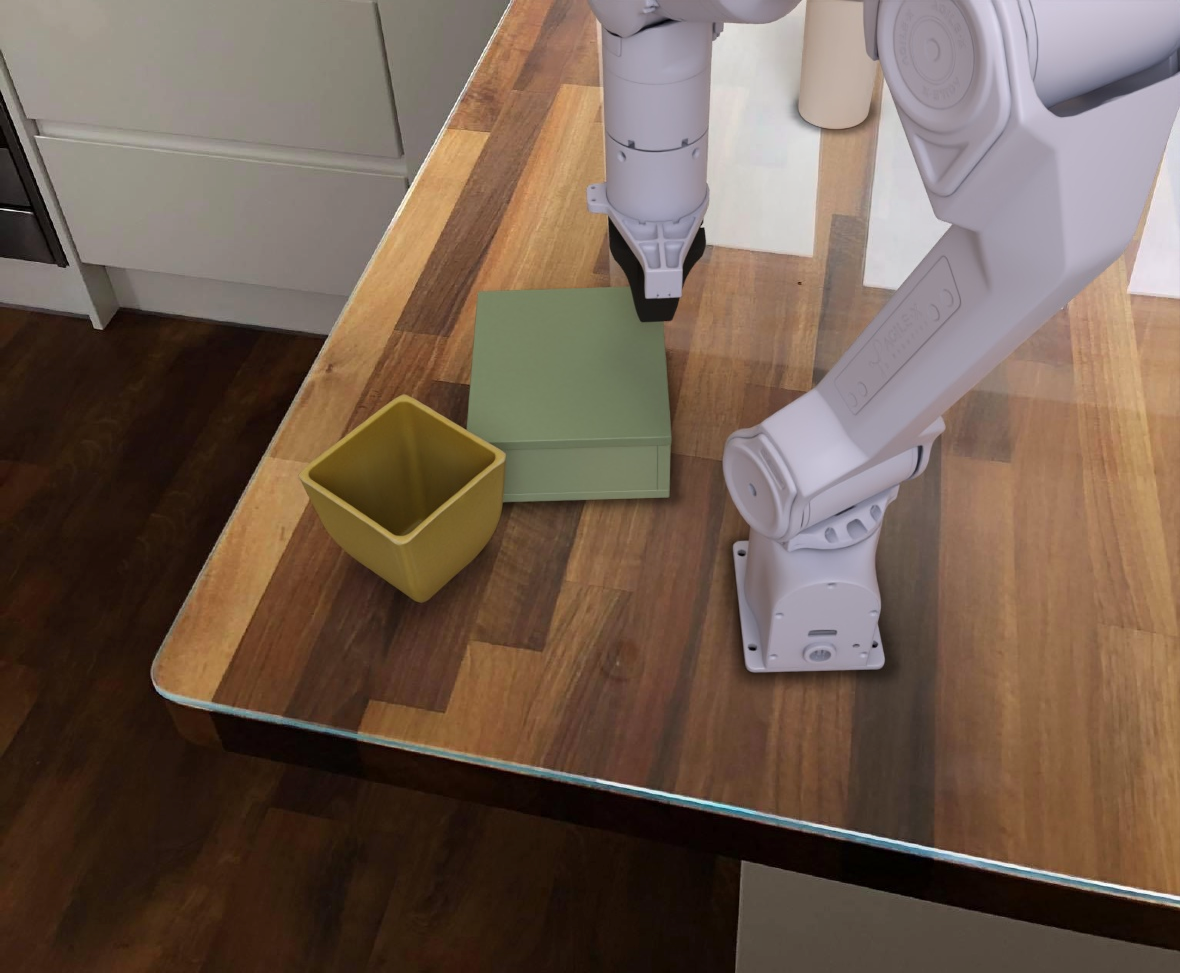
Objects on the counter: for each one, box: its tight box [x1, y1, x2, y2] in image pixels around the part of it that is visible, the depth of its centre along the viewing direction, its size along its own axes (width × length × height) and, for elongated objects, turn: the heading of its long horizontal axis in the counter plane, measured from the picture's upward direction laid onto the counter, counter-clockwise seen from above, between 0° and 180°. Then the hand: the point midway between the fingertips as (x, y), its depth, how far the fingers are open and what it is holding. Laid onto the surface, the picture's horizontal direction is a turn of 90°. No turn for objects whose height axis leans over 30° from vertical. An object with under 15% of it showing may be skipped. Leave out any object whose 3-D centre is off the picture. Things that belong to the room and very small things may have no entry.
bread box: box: [502, 444, 672, 503], centre depth 82 cm, size 14×13×6 cm
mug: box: [798, 0, 879, 130], centre depth 106 cm, size 10×7×12 cm, turn 153°
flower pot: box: [297, 393, 506, 604], centre depth 74 cm, size 9×9×9 cm
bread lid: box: [465, 285, 673, 450], centre depth 80 cm, size 14×13×1 cm
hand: (655, 314), depth 77 cm, fingers closed
